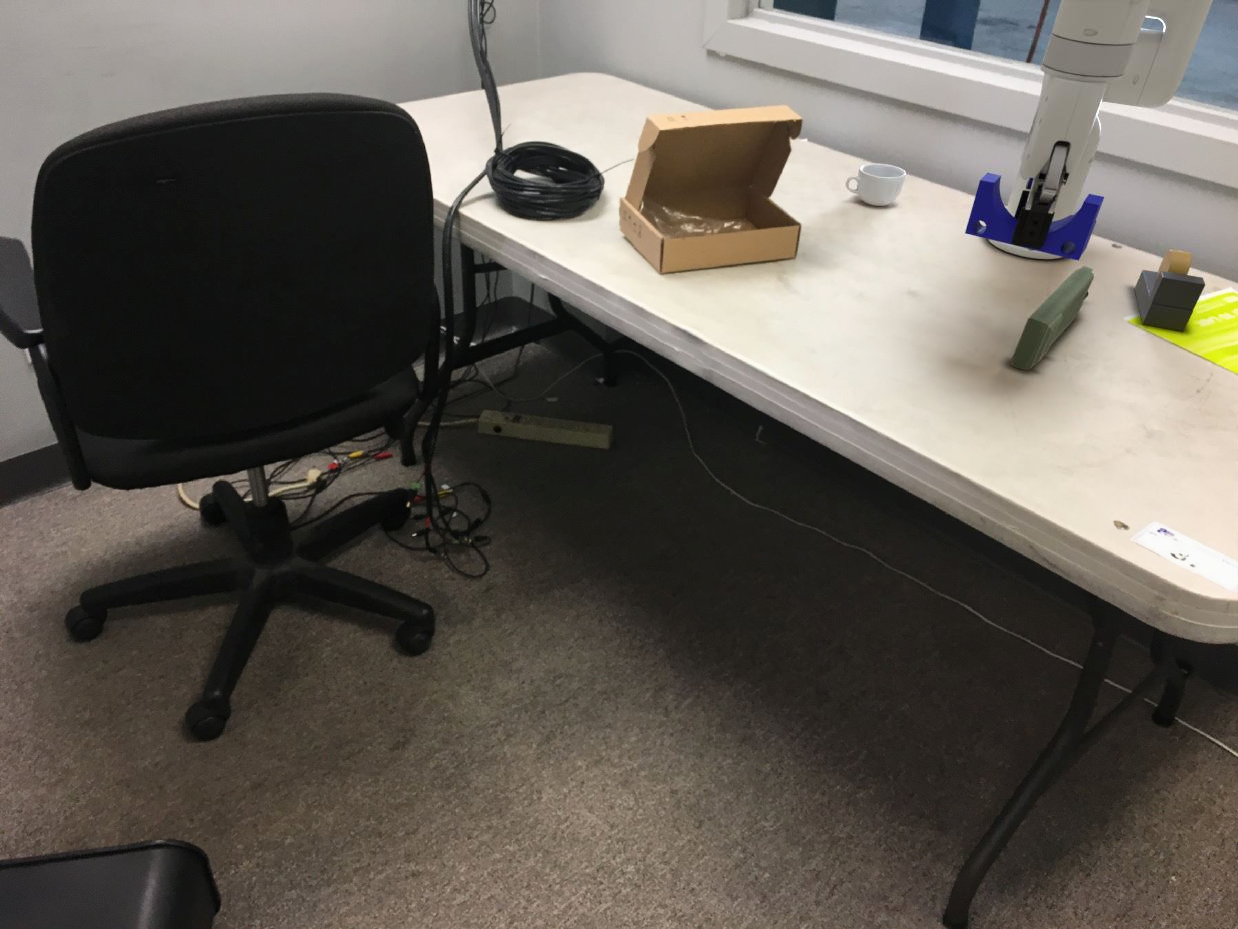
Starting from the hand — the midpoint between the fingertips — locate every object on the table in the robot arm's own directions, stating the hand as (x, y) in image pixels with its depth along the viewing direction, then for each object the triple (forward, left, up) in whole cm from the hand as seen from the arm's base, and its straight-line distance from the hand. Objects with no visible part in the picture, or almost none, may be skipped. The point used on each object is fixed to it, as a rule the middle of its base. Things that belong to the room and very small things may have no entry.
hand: (1027, 235), depth 95 cm
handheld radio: (-14, +8, -17) cm, 23 cm away
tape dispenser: (-28, +22, -17) cm, 39 cm away
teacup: (-53, -21, -17) cm, 59 cm away
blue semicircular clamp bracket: (0, 0, -1) cm, 1 cm away
